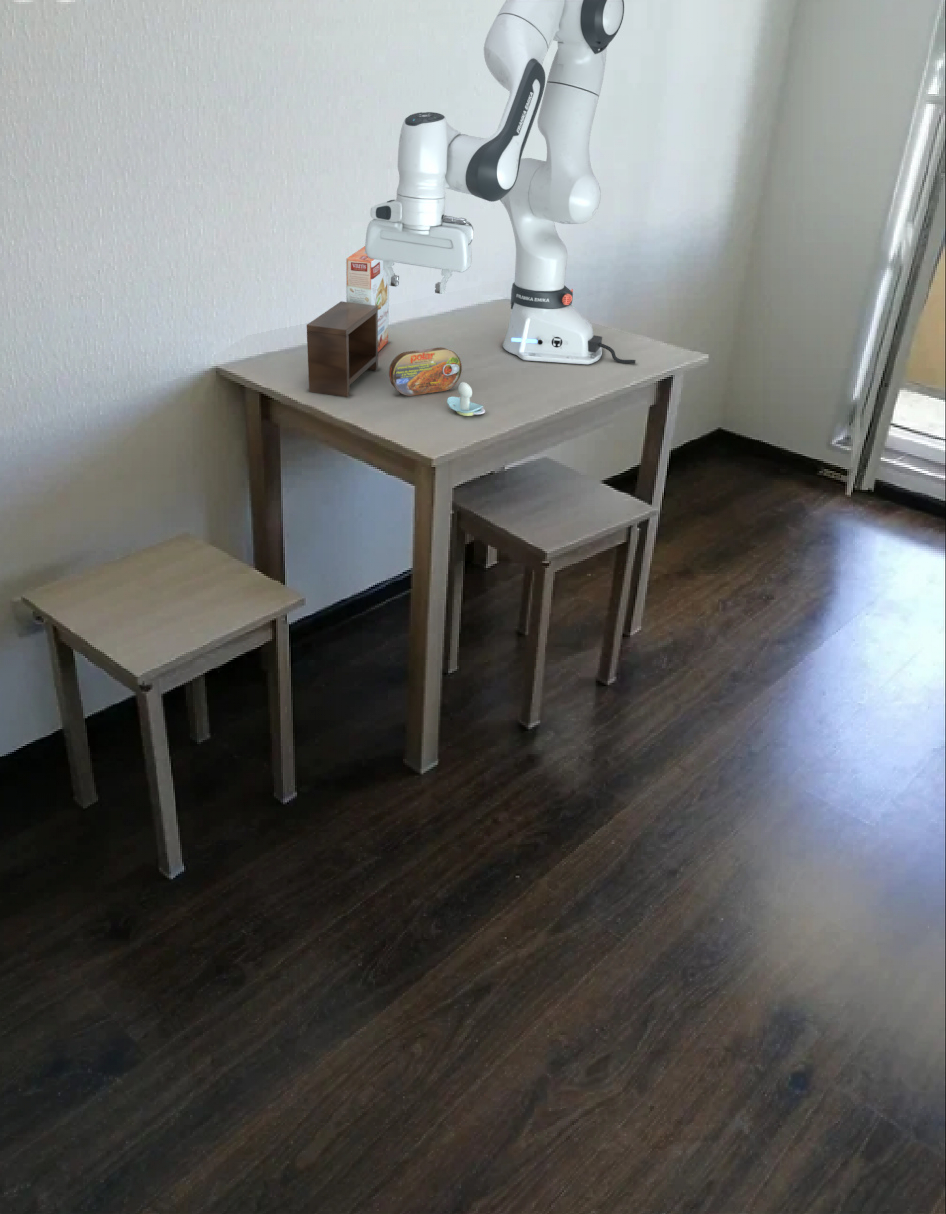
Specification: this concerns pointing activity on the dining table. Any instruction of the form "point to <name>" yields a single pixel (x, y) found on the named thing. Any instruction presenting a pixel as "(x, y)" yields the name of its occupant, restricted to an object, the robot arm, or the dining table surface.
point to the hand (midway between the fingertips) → (416, 289)
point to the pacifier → (465, 402)
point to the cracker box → (369, 288)
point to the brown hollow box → (342, 347)
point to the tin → (425, 371)
